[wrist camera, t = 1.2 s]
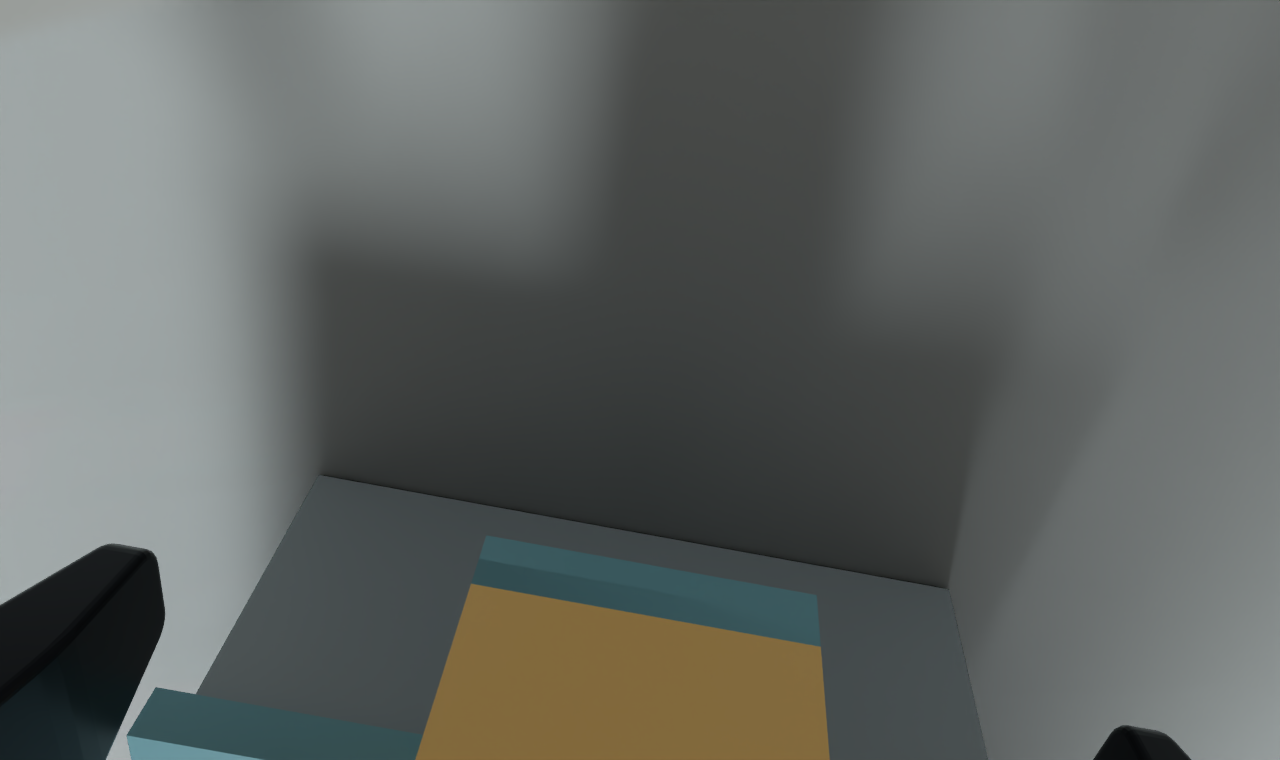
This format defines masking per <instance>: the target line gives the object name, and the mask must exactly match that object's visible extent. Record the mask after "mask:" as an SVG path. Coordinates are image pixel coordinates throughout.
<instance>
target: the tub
mask: <svg viewBox="0 0 1280 760" xmlns="http://www.w3.org/2000/svg"><path fill="white" fill-rule="evenodd" d="M486 535H487V536H493V537H498V538H504V539H510V540H515V541H521V542H526V543H532V544H537V545H543V546H548V547H554V548H559V549H565V550H570V551H576V552H581V553H587V554H592V555H598V556H603V557H609V558H614V559H620V560H625V561H631V562H636V563H642V564H648V565H653V566H659V567H664V568H670V569H675V570H681V571H686V572H692V573H697V574H703V575H708V576H714V577H719V578H725V579H730V580H736V581H741V582H747V583H752V584H758V585H763V586H769V587H774V588H780V589H785V590H791V591H797V592H802V593H808V594H813V595H817V605H818V618H819V630H820V643H821V656H822V668H823V681H824V694H825V706H826V719H827V732H828V744H829V757H830V760H988V757H987V753H986V749H985V744H984V740H983V736H982V731H981V727H980V723H979V718H978V714H977V710H976V705H975V701H974V696H973V692H972V688H971V683H970V679H969V675H968V670H967V666H966V662H965V657H964V653H963V649H962V644H961V640H960V636H959V631H958V627H957V623H956V618H955V614H954V610H953V605H952V601H951V596H950V592H949V589H944V588H938V587H933V586H927V585H922V584H916V583H911V582H905V581H900V580H894V579H889V578H883V577H878V576H872V575H867V574H861V573H856V572H850V571H845V570H839V569H834V568H828V567H823V566H817V565H812V564H806V563H801V562H795V561H790V560H784V559H779V558H773V557H768V556H762V555H757V554H751V553H746V552H740V551H735V550H729V549H724V548H718V547H713V546H707V545H702V544H696V543H691V542H685V541H680V540H674V539H669V538H663V537H658V536H652V535H646V534H641V533H635V532H630V531H624V530H619V529H613V528H608V527H602V526H597V525H591V524H586V523H580V522H575V521H569V520H564V519H558V518H553V517H547V516H542V515H536V514H531V513H525V512H520V511H514V510H509V509H503V508H498V507H492V506H487V505H481V504H476V503H470V502H465V501H459V500H454V499H448V498H443V497H437V496H432V495H426V494H421V493H415V492H410V491H404V490H399V489H393V488H388V487H382V486H377V485H371V484H366V483H360V482H355V481H349V480H344V479H338V478H333V477H327V476H322V475H318V477H317V479H316V481H315V483H314V484H313V486H312V488H311V490H310V491H309V493H308V495H307V497H306V499H305V500H304V502H303V504H302V506H301V507H300V509H299V511H298V513H297V515H296V516H295V518H294V520H293V522H292V524H291V525H290V527H289V529H288V531H287V532H286V534H285V536H284V538H283V540H282V541H281V543H280V545H279V547H278V548H277V550H276V552H275V554H274V556H273V557H272V559H271V561H270V563H269V565H268V566H267V568H266V570H265V572H264V573H263V575H262V577H261V579H260V581H259V582H258V584H257V586H256V588H255V589H254V591H253V593H252V595H251V597H250V598H249V600H248V602H247V604H246V606H245V607H244V609H243V611H242V613H241V614H240V616H239V618H238V620H237V622H236V623H235V625H234V627H233V629H232V630H231V632H230V634H229V636H228V638H227V639H226V641H225V643H224V645H223V647H222V648H221V650H220V652H219V654H218V655H217V657H216V659H215V661H214V663H213V664H212V666H211V668H210V670H209V671H208V673H207V675H206V677H205V679H204V680H203V682H202V684H201V686H200V688H199V689H198V691H197V693H196V695H202V696H207V697H213V698H219V699H224V700H230V701H236V702H241V703H247V704H252V705H258V706H264V707H269V708H275V709H281V710H286V711H292V712H297V713H303V714H309V715H314V716H320V717H326V718H331V719H337V720H342V721H348V722H354V723H359V724H365V725H370V726H376V727H382V728H387V729H393V730H399V731H404V732H410V733H415V734H421V735H423V734H424V731H425V728H426V724H427V721H428V718H429V715H430V712H431V709H432V705H433V702H434V699H435V696H436V693H437V690H438V687H439V683H440V680H441V677H442V674H443V671H444V668H445V664H446V661H447V658H448V655H449V652H450V649H451V645H452V642H453V639H454V636H455V633H456V630H457V626H458V623H459V620H460V617H461V614H462V611H463V608H464V604H465V601H466V598H467V595H468V592H469V589H470V585H471V582H472V579H473V576H474V573H475V570H476V566H477V563H478V560H479V557H480V554H481V551H482V547H483V544H484V541H485V538H486Z"/></svg>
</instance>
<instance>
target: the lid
mask: <svg viewBox="0 0 1280 760" xmlns="http://www.w3.org/2000/svg"><path fill="white" fill-rule="evenodd" d="M127 740H128V745H129V750H130V755H131V760H830V757H829V744H828V732H827V719H826V706H825V694H824V681H823V668H822V656H821V643H820V630H819V618H818V605H817V595H813V594H808V593H802V592H797V591H791V590H785V589H780V588H774V587H769V586H763V585H758V584H752V583H747V582H741V581H736V580H730V579H725V578H719V577H714V576H708V575H703V574H697V573H692V572H686V571H681V570H675V569H670V568H664V567H659V566H653V565H648V564H642V563H636V562H631V561H625V560H620V559H614V558H609V557H603V556H598V555H592V554H587V553H581V552H576V551H570V550H565V549H559V548H554V547H548V546H543V545H537V544H532V543H526V542H521V541H515V540H510V539H504V538H498V537H493V536H487V535H486V538H485V541H484V544H483V547H482V551H481V554H480V557H479V560H478V563H477V566H476V570H475V573H474V576H473V579H472V582H471V585H470V589H469V592H468V595H467V598H466V601H465V604H464V608H463V611H462V614H461V617H460V620H459V623H458V626H457V630H456V633H455V636H454V639H453V642H452V645H451V649H450V652H449V655H448V658H447V661H446V664H445V668H444V671H443V674H442V677H441V680H440V683H439V687H438V690H437V693H436V696H435V699H434V702H433V705H432V709H431V712H430V715H429V718H428V721H427V724H426V728H425V731H424V734H423V735H421V734H415V733H410V732H404V731H399V730H393V729H387V728H382V727H376V726H370V725H365V724H359V723H354V722H348V721H342V720H337V719H331V718H326V717H320V716H314V715H309V714H303V713H297V712H292V711H286V710H281V709H275V708H269V707H264V706H258V705H252V704H247V703H241V702H236V701H230V700H224V699H219V698H213V697H207V696H202V695H196V694H191V693H185V692H179V691H174V690H168V689H162V688H157V687H156V688H155V689H154V691H153V693H152V694H151V696H150V698H149V699H148V701H147V703H146V704H145V706H144V708H143V709H142V711H141V713H140V714H139V716H138V718H137V719H136V721H135V722H134V724H133V726H132V727H131V729H130V731H129V732H128V734H127Z"/></svg>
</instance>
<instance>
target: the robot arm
mask: <svg viewBox="0 0 1280 760" xmlns="http://www.w3.org/2000/svg"><path fill="white" fill-rule="evenodd" d="M164 620H165V607H164V600H163V593H162V587H161V580H160V574H159V567H158V562H157V558H156V556H155V555H154V553H153V552H152V551H149V550H147V549H143V548H137V547H132V546H126V545H121V544H107V545H104V546H101V547H99V548H97V549H95V550H93V551H92V552H90V553H88V554H87V555H85V556H83V557H81V558H80V559H78V560H76V561H75V562H73V563H71V564H70V565H68V566H66V567H64V568H63V569H61V570H59V571H58V572H56V573H54V574H52V575H51V576H49V577H47V578H46V579H44V580H42V581H41V582H39V583H37V584H35V585H34V586H32V587H30V588H29V589H27V590H25V591H24V592H22V593H20V594H18V595H17V596H15V597H13V598H12V599H10V600H8V601H6V602H5V603H3V604H1V605H0V760H106V758H107V756H108V753H109V751H110V749H111V747H112V744H113V742H114V740H115V738H116V735H117V733H118V731H119V729H120V726H121V724H122V722H123V720H124V717H125V715H126V713H127V711H128V708H129V706H130V704H131V702H132V699H133V697H134V695H135V693H136V690H137V688H138V686H139V684H140V681H141V679H142V677H143V674H144V672H145V670H146V668H147V665H148V663H149V661H150V659H151V656H152V654H153V652H154V650H155V647H156V645H157V643H158V641H159V638H160V636H161V633H162V629H163V626H164ZM1093 760H1191V759H1190V758H1189V756H1188V755H1187V754H1186V753H1185V752H1184V751H1183V750H1182V749H1181V748H1180V747H1179V746H1178V745H1177V744H1176V742H1175V741H1173V740H1172V739H1171V738H1170V737H1169V736H1168V735H1166V734H1164V733H1162V732H1160V731H1156V730H1150V729H1145V728H1139V727H1134V726H1128V725H1123V726H1120V727H1118V728H1116V729H1114V730H1113V731H1112V733H1111V734H1110V735H1109V737H1108V738H1107V740H1106V741H1105V743H1104V744H1103V746H1102V747H1101V749H1100V750H1099V752H1098V753H1097V755H1096V756H1095V758H1094V759H1093Z"/></svg>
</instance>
